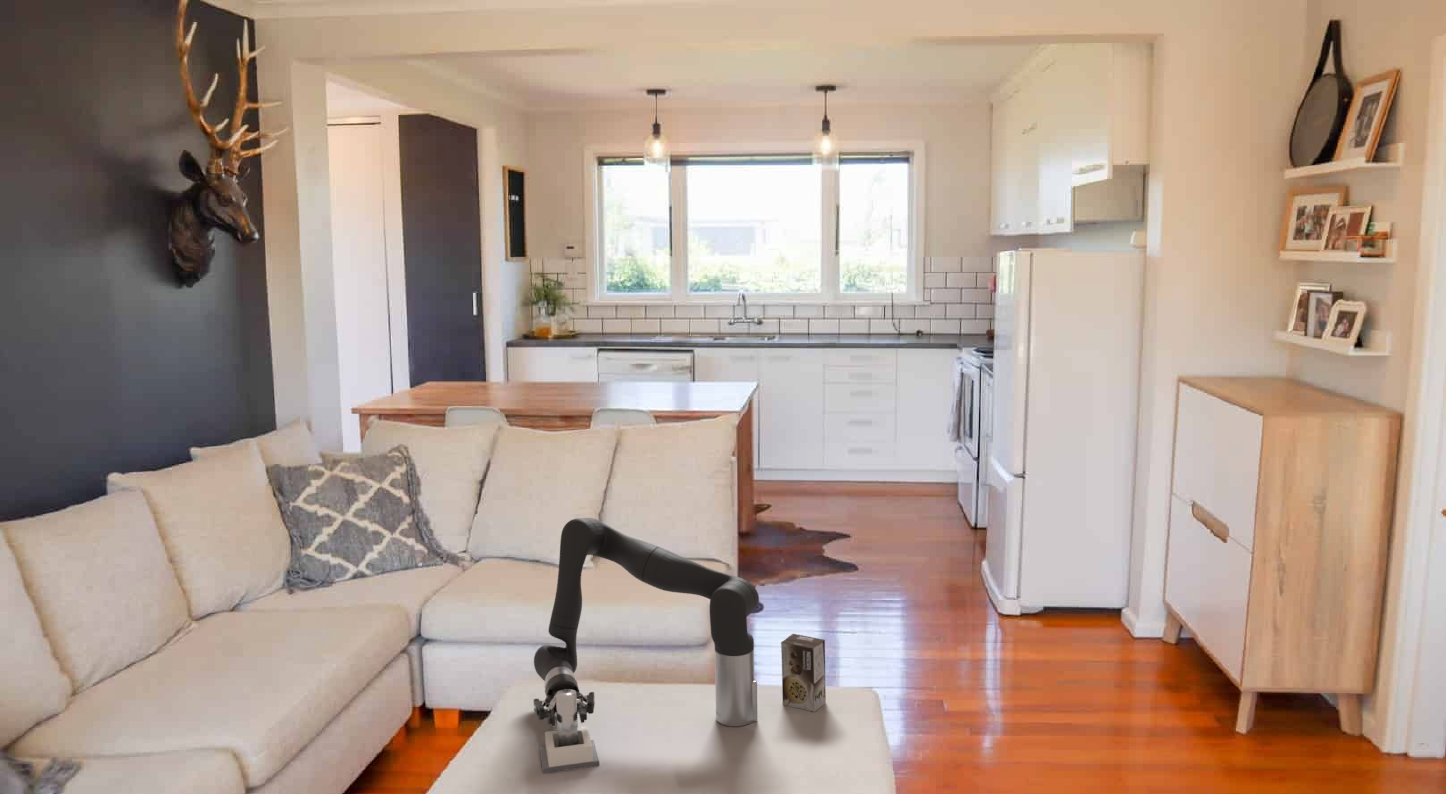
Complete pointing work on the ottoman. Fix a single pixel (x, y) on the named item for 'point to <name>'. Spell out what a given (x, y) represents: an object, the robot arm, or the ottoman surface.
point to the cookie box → (803, 672)
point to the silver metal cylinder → (567, 717)
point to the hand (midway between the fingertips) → (568, 720)
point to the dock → (568, 752)
